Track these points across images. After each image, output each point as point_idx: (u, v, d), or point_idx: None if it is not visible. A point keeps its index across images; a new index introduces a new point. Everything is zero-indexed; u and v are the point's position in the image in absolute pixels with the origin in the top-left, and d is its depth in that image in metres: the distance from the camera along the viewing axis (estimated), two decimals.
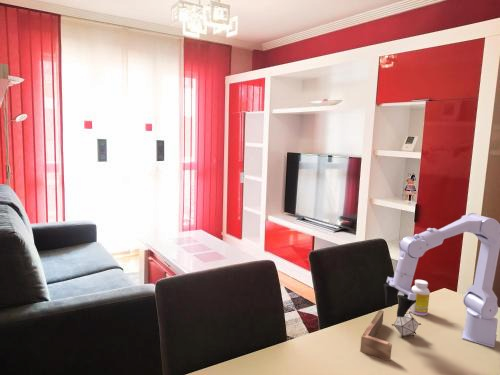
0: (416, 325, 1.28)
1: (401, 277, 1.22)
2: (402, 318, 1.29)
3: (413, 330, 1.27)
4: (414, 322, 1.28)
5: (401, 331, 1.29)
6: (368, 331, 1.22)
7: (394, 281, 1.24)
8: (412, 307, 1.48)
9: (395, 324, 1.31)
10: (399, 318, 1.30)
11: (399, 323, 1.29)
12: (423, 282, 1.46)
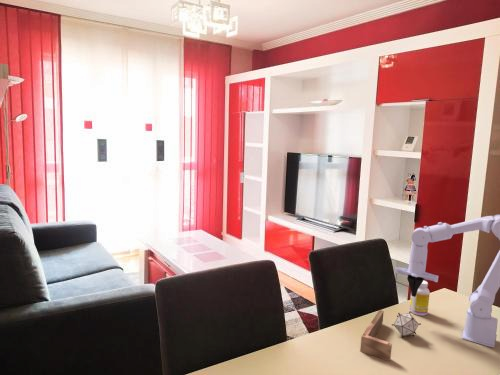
0: (416, 325, 1.28)
1: (422, 265, 1.35)
2: (402, 318, 1.29)
3: (413, 330, 1.27)
4: (414, 322, 1.28)
5: (401, 331, 1.29)
6: (368, 331, 1.22)
7: (415, 271, 1.36)
8: (412, 307, 1.48)
9: (395, 324, 1.31)
10: (399, 318, 1.30)
11: (399, 323, 1.29)
12: (423, 282, 1.46)
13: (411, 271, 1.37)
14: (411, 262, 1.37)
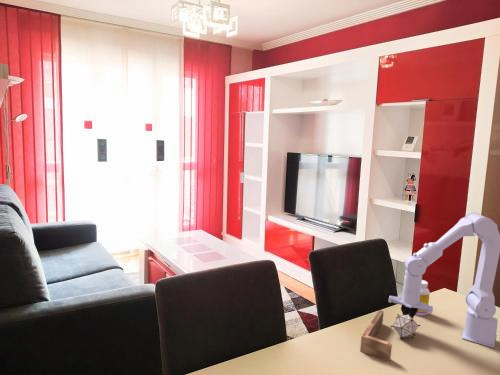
0: (415, 326, 1.27)
1: (416, 296, 1.30)
2: (401, 319, 1.28)
3: (412, 332, 1.26)
4: (413, 323, 1.27)
5: (400, 332, 1.28)
6: (368, 331, 1.22)
7: (409, 302, 1.31)
8: None
9: (394, 325, 1.29)
10: (398, 319, 1.29)
11: (398, 324, 1.28)
12: (423, 282, 1.46)
13: (405, 301, 1.32)
14: (405, 292, 1.32)
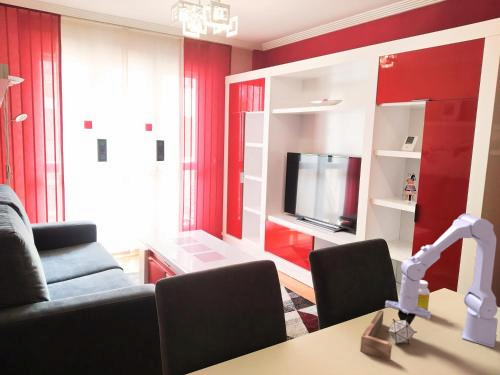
0: (411, 333, 1.23)
1: (414, 301, 1.26)
2: (396, 325, 1.24)
3: (406, 338, 1.22)
4: (409, 329, 1.23)
5: (395, 338, 1.24)
6: (368, 331, 1.22)
7: (406, 307, 1.27)
8: None
9: (389, 330, 1.26)
10: (393, 324, 1.25)
11: (393, 329, 1.24)
12: (423, 282, 1.46)
13: (402, 306, 1.28)
14: (402, 297, 1.28)
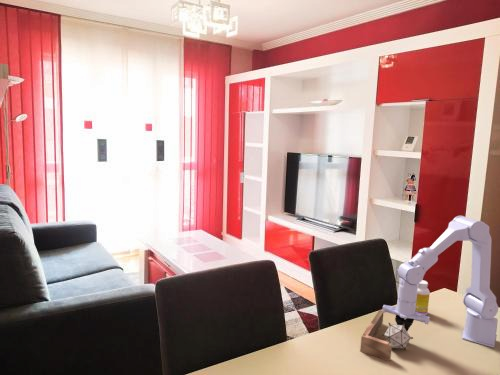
0: (406, 338, 1.19)
1: (411, 306, 1.22)
2: (391, 329, 1.21)
3: (400, 343, 1.18)
4: (404, 335, 1.19)
5: (389, 342, 1.21)
6: (368, 331, 1.22)
7: (404, 312, 1.23)
8: None
9: (385, 334, 1.23)
10: (389, 328, 1.22)
11: (388, 333, 1.21)
12: (423, 282, 1.46)
13: (399, 311, 1.24)
14: (399, 301, 1.24)
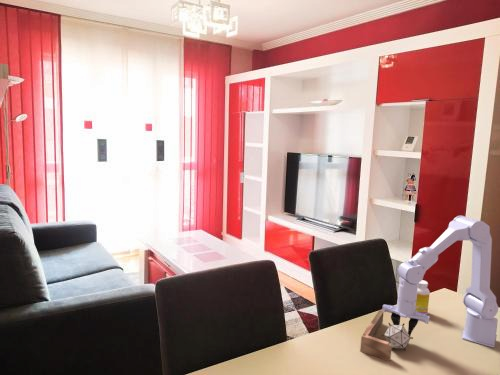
0: (406, 338, 1.19)
1: (412, 305, 1.22)
2: (391, 329, 1.21)
3: (400, 343, 1.18)
4: (404, 335, 1.19)
5: (389, 342, 1.21)
6: (368, 331, 1.22)
7: (404, 311, 1.23)
8: None
9: (385, 334, 1.23)
10: (389, 328, 1.22)
11: (388, 333, 1.21)
12: (423, 282, 1.46)
13: (399, 310, 1.24)
14: (399, 301, 1.24)
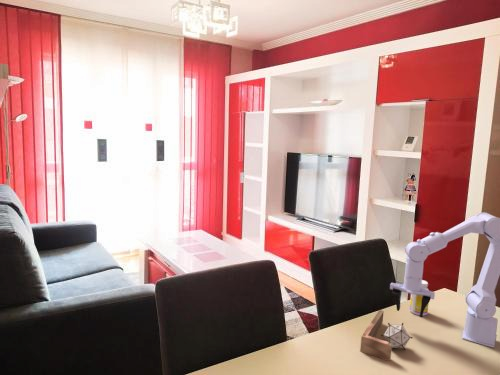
0: (406, 338, 1.19)
1: (418, 282, 1.30)
2: (391, 329, 1.21)
3: (400, 343, 1.18)
4: (403, 334, 1.19)
5: (389, 342, 1.21)
6: (368, 331, 1.22)
7: (411, 288, 1.30)
8: (412, 307, 1.48)
9: (384, 334, 1.23)
10: (388, 328, 1.22)
11: (387, 333, 1.21)
12: (423, 282, 1.46)
13: (406, 287, 1.31)
14: (406, 278, 1.31)
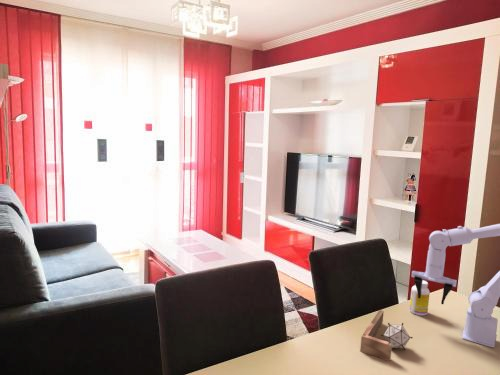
0: (406, 338, 1.19)
1: (440, 270, 1.32)
2: (391, 329, 1.21)
3: (400, 343, 1.18)
4: (403, 334, 1.19)
5: (389, 342, 1.21)
6: (368, 331, 1.22)
7: (433, 275, 1.32)
8: (412, 307, 1.48)
9: (384, 334, 1.23)
10: (388, 328, 1.22)
11: (387, 333, 1.21)
12: (423, 282, 1.46)
13: (428, 275, 1.34)
14: (428, 266, 1.34)
